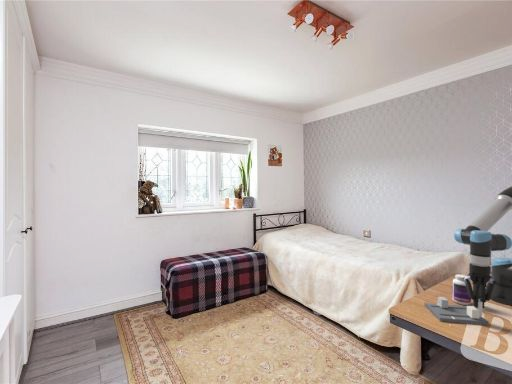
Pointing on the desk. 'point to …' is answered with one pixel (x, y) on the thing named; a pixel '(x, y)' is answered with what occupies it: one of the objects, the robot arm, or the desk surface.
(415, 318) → the desk surface
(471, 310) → the fader ivory
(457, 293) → the pill bottle
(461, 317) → the panel
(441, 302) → the fader grey
